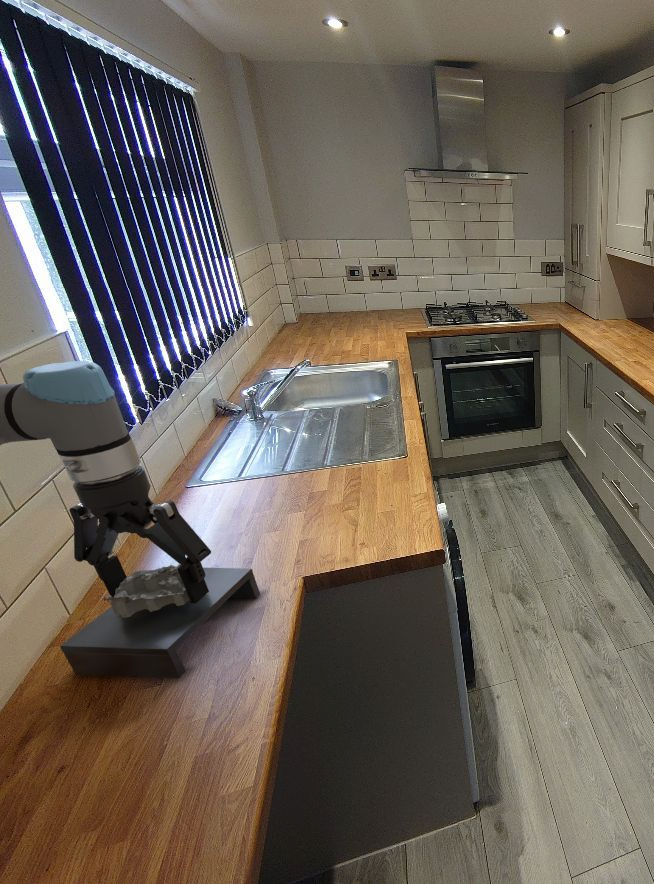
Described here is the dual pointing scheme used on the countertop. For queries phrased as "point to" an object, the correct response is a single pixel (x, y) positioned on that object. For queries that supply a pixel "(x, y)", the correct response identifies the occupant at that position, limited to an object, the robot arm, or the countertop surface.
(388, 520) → the countertop surface
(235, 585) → the shelf
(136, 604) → the egg carton
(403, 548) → the countertop surface
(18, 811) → the countertop surface
